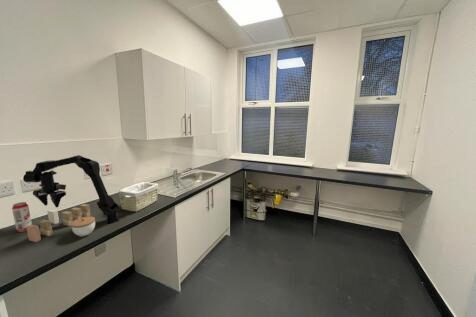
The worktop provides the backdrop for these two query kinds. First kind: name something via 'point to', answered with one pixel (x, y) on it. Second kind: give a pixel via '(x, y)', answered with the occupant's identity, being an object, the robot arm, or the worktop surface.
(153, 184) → the storage basket
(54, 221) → the domino
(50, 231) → the domino
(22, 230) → the beer can
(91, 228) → the lidded jar
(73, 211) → the domino
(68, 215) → the domino
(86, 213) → the domino
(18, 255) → the worktop surface
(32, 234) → the domino end
